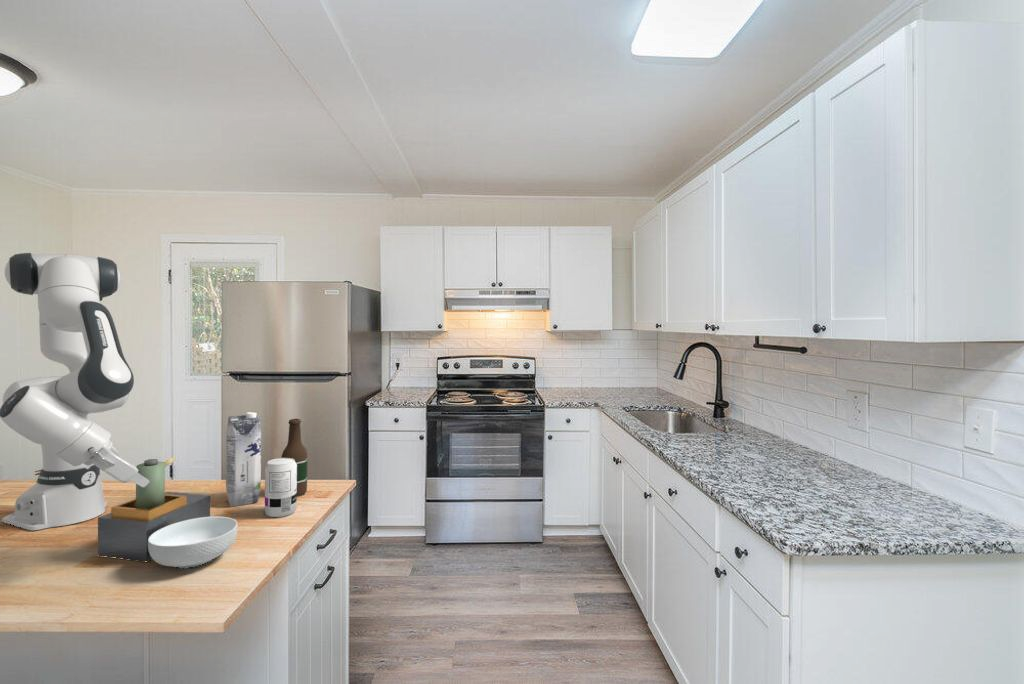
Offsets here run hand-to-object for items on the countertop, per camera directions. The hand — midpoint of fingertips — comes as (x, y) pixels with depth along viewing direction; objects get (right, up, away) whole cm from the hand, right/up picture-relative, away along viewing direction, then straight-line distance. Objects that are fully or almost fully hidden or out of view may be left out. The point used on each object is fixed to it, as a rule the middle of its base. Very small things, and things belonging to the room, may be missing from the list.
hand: (141, 479), depth 112 cm
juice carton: (+5, -16, +33) cm, 38 cm away
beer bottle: (+17, -17, +40) cm, 47 cm away
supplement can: (+21, -17, +25) cm, 37 cm away
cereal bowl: (+15, -18, -4) cm, 23 cm away
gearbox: (-1, -17, +5) cm, 17 cm away
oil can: (+2, -8, +2) cm, 8 cm away
